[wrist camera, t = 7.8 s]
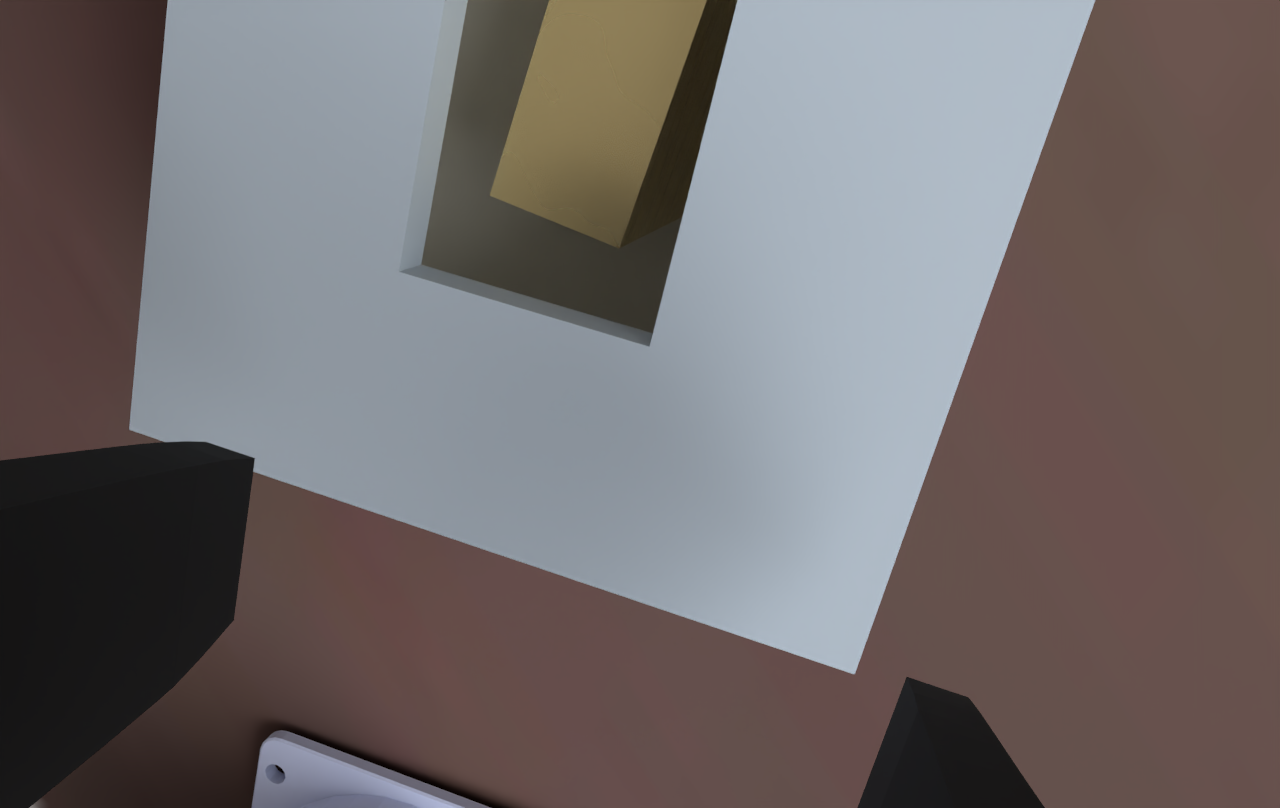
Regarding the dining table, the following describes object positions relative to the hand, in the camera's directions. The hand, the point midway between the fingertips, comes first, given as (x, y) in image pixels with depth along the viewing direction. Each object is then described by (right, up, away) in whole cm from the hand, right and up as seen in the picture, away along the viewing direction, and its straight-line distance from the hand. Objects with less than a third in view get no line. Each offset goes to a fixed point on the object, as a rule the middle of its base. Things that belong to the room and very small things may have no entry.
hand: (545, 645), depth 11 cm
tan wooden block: (+2, +9, +8) cm, 12 cm away
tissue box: (+2, +9, +8) cm, 12 cm away
